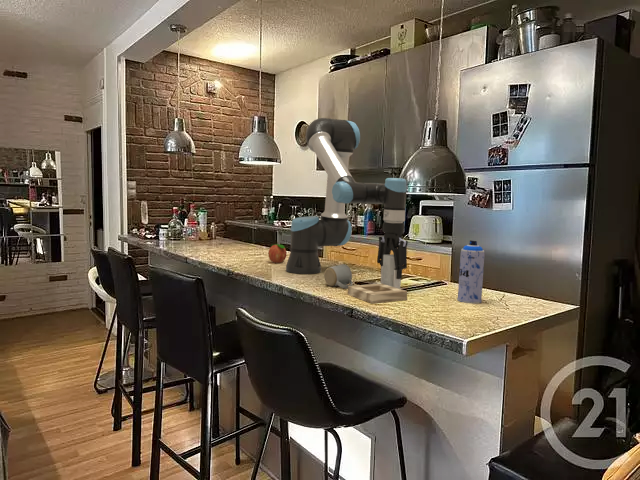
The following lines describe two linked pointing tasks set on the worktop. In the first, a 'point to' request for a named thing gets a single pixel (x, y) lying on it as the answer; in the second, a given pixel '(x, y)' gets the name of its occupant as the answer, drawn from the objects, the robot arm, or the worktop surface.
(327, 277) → the ceramic mug
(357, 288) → the socket block
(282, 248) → the fruit
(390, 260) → the skincare box
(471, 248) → the aerosol can
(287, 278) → the worktop surface
